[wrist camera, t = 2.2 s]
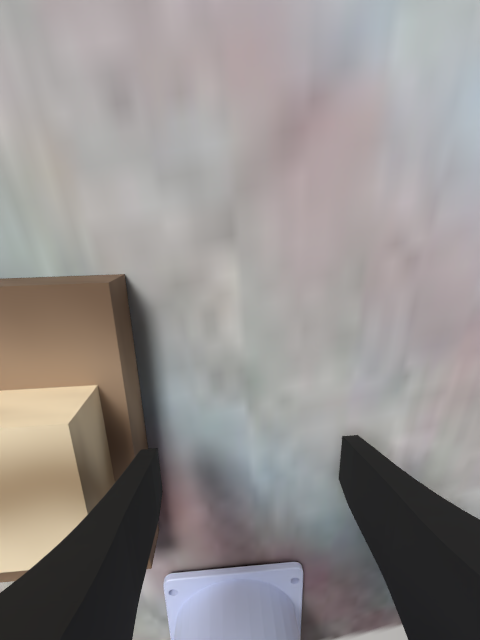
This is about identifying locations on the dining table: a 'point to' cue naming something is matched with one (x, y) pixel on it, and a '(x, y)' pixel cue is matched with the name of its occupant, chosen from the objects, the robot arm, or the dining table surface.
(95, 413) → the oak tile
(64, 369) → the walnut board
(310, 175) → the dining table surface
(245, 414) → the dining table surface
